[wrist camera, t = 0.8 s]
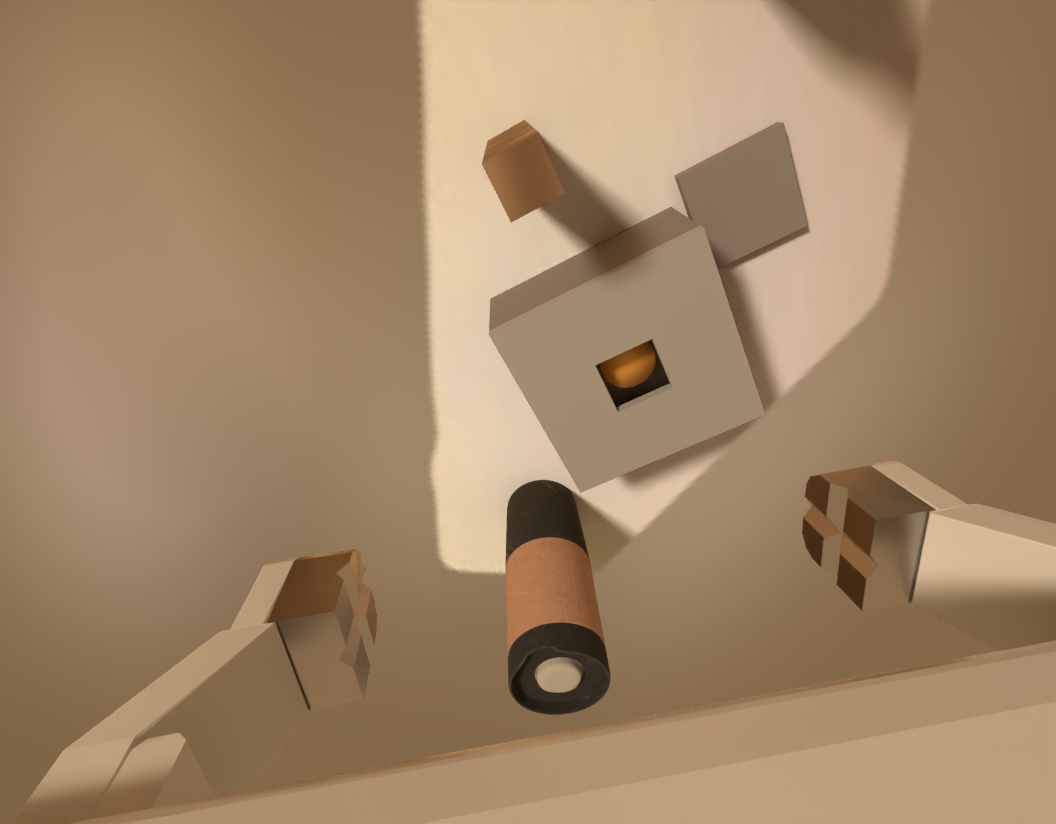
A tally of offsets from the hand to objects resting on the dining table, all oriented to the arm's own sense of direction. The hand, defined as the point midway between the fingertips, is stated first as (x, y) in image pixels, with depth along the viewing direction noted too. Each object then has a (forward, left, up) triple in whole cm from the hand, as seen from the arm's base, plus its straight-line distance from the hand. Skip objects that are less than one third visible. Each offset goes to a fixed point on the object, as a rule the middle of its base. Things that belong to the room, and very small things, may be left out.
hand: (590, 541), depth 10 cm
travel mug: (+12, +28, -38) cm, 48 cm away
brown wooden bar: (-1, -3, -37) cm, 38 cm away
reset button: (-2, +14, -34) cm, 37 cm away
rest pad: (-15, +8, -37) cm, 41 cm away
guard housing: (-2, +14, -37) cm, 40 cm away
